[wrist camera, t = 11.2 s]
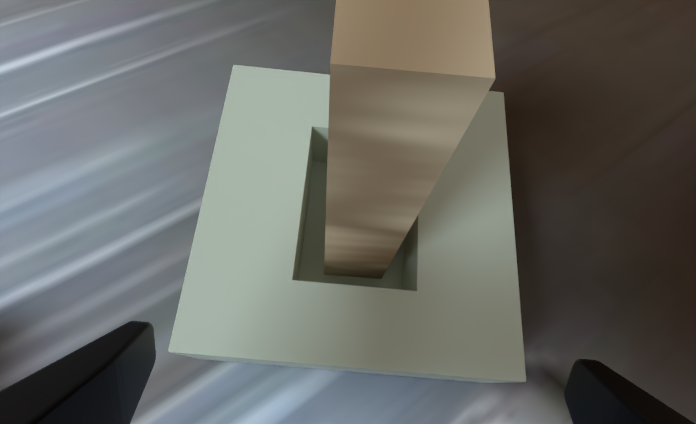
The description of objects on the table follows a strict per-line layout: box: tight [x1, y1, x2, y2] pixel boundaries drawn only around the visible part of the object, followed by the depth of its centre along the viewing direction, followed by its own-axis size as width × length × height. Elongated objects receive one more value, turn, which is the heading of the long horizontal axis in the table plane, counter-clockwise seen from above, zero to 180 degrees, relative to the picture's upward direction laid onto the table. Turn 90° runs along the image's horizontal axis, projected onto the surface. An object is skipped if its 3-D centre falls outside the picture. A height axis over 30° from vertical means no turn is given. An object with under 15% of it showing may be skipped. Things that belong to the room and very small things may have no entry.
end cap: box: [168, 65, 526, 383], centre depth 18 cm, size 12×12×4 cm
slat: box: [324, 0, 495, 279], centre depth 13 cm, size 2×4×13 cm, turn 177°
